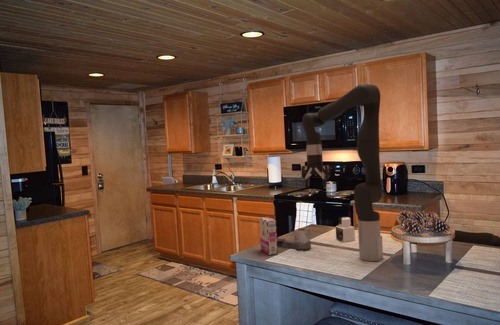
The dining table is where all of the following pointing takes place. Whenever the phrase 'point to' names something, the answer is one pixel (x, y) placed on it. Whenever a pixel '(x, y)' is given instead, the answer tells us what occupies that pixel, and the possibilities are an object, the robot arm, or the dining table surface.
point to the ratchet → (293, 245)
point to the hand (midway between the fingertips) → (316, 186)
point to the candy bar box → (268, 235)
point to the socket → (302, 235)
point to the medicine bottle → (345, 230)
